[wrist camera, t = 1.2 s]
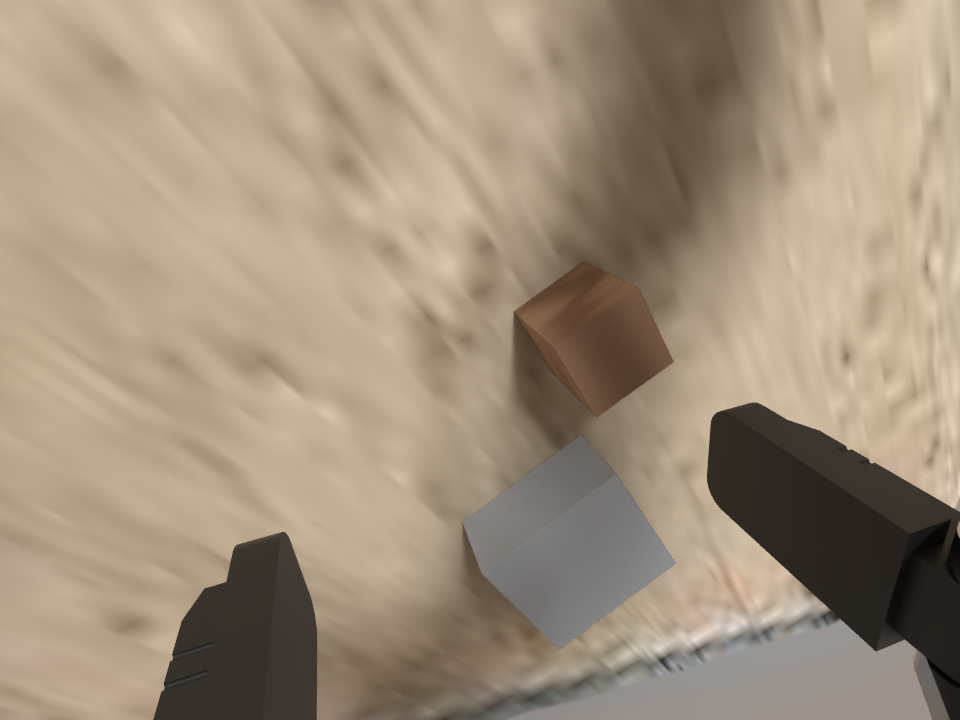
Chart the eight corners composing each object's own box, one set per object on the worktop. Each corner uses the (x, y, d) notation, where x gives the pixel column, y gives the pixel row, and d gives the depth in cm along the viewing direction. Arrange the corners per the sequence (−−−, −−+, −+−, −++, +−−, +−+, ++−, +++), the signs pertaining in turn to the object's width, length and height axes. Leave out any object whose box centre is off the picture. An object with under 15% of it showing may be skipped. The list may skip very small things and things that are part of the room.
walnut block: (582, 261, 30) (637, 287, 25) (616, 325, 33) (673, 361, 27) (513, 311, 30) (553, 347, 25) (552, 372, 33) (596, 417, 27)
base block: (579, 432, 36) (616, 473, 31) (636, 516, 40) (676, 563, 36) (461, 519, 36) (481, 573, 31) (532, 593, 40) (558, 649, 36)
